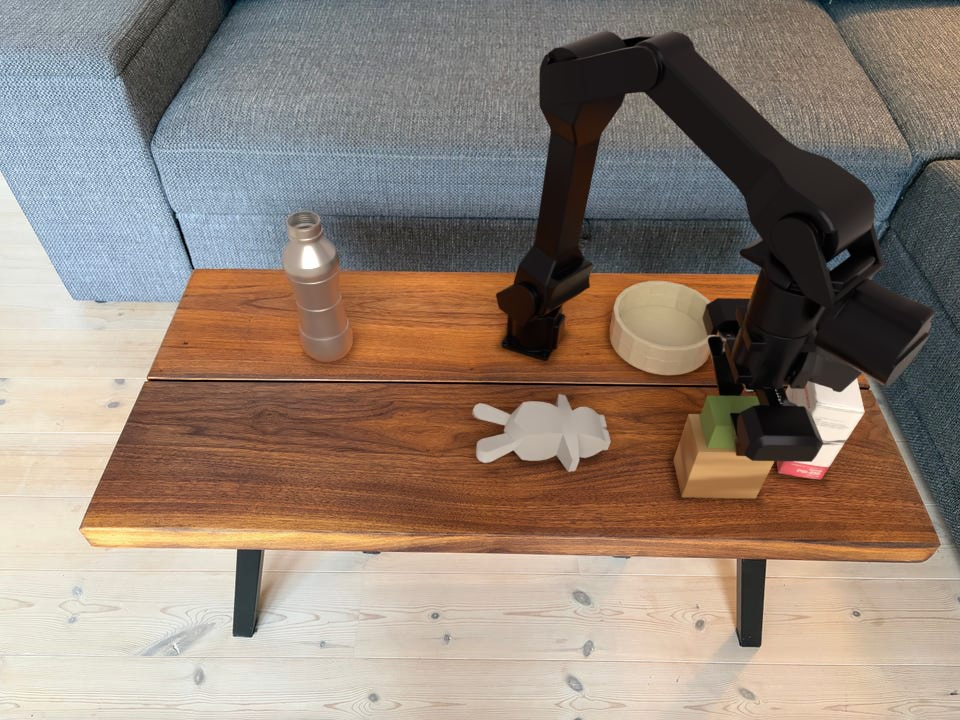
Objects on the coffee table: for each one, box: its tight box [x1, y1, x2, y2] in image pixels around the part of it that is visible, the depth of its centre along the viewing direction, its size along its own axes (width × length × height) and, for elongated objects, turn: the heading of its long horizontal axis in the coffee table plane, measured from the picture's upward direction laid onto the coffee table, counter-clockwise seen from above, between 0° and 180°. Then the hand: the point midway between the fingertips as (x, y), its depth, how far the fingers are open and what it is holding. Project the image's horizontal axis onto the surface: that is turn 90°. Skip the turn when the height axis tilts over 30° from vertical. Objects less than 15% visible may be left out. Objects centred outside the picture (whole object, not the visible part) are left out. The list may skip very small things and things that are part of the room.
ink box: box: [776, 378, 866, 481], centre depth 78 cm, size 9×5×12 cm, turn 168°
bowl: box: [609, 280, 717, 376], centre depth 93 cm, size 13×13×4 cm
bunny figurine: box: [471, 393, 612, 473], centre depth 80 cm, size 10×5×15 cm
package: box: [699, 394, 760, 448], centre depth 72 cm, size 4×6×4 cm, turn 89°
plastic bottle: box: [280, 210, 354, 363], centre depth 85 cm, size 6×7×20 cm
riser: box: [673, 413, 775, 499], centre depth 76 cm, size 5×8×8 cm, turn 89°
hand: (733, 430), depth 73 cm, fingers open, 6 cm apart
